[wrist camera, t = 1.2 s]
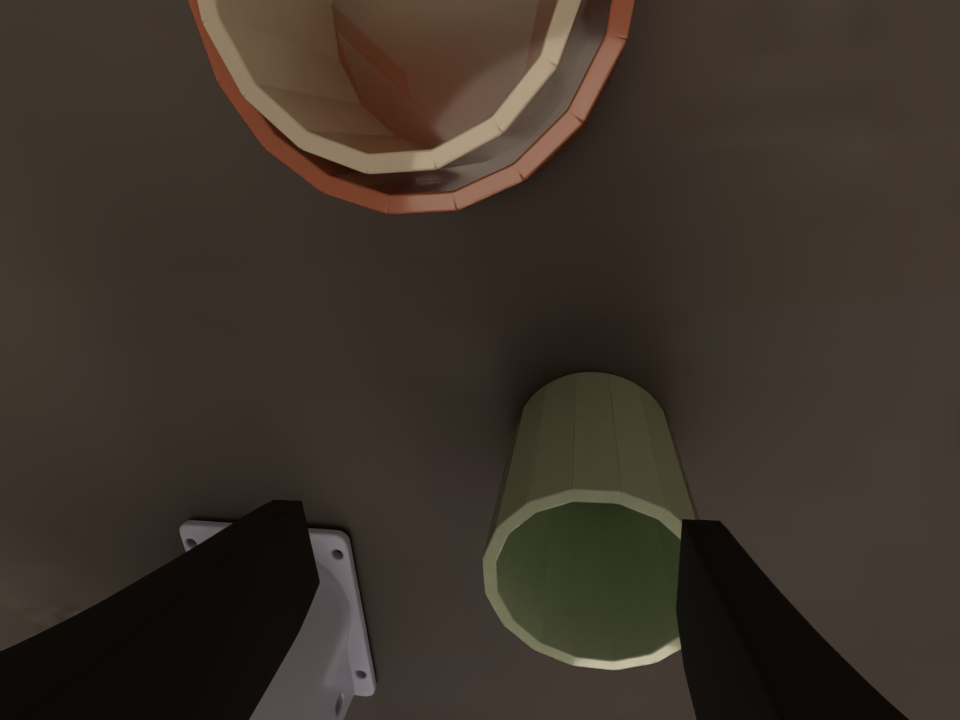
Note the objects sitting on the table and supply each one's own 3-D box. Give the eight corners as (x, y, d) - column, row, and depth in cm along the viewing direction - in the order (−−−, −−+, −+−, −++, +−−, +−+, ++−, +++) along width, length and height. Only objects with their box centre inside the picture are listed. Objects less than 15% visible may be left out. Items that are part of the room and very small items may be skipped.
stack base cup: (621, 187, 16) (636, 202, 12) (324, 203, 18) (236, 222, 13) (633, -232, 13) (661, -441, 8) (265, -160, 15) (121, -299, 10)
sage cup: (666, 509, 20) (705, 680, 14) (518, 501, 21) (489, 657, 15) (676, 371, 18) (727, 496, 12) (512, 370, 19) (475, 484, 13)
